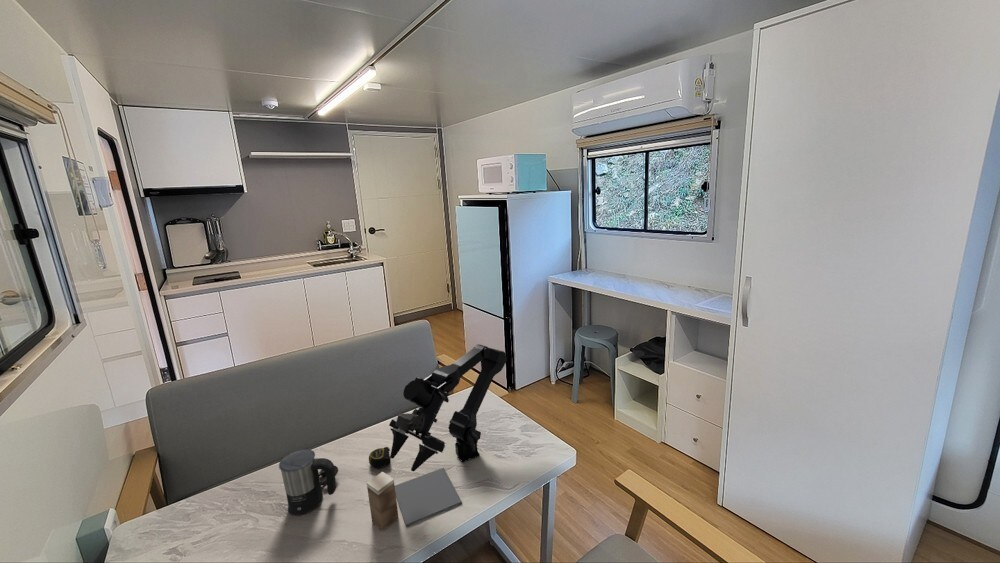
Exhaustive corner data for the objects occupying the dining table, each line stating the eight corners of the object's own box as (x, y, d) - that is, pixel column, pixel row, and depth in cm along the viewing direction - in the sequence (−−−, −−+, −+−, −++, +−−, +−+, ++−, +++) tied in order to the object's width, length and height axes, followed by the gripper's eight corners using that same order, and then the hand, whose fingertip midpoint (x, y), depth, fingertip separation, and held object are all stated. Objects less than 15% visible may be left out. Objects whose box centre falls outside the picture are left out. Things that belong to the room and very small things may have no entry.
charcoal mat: (443, 469, 122) (443, 467, 122) (461, 503, 108) (461, 501, 108) (393, 487, 115) (393, 486, 115) (406, 526, 101) (405, 524, 101)
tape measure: (391, 467, 125) (390, 457, 124) (369, 472, 123) (368, 462, 122) (390, 454, 131) (389, 444, 130) (369, 459, 129) (368, 449, 128)
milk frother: (286, 521, 105) (277, 475, 102) (290, 484, 119) (282, 442, 116) (341, 502, 111) (334, 458, 107) (338, 468, 125) (332, 428, 121)
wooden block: (387, 509, 107) (382, 471, 104) (398, 518, 104) (393, 479, 101) (372, 522, 103) (366, 482, 101) (383, 531, 100) (377, 490, 98)
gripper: (390, 392, 112) (362, 445, 106) (433, 412, 101) (404, 472, 95) (414, 404, 120) (388, 454, 114) (456, 424, 109) (430, 480, 103)
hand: (401, 464), depth 106 cm, fingers open, 9 cm apart
